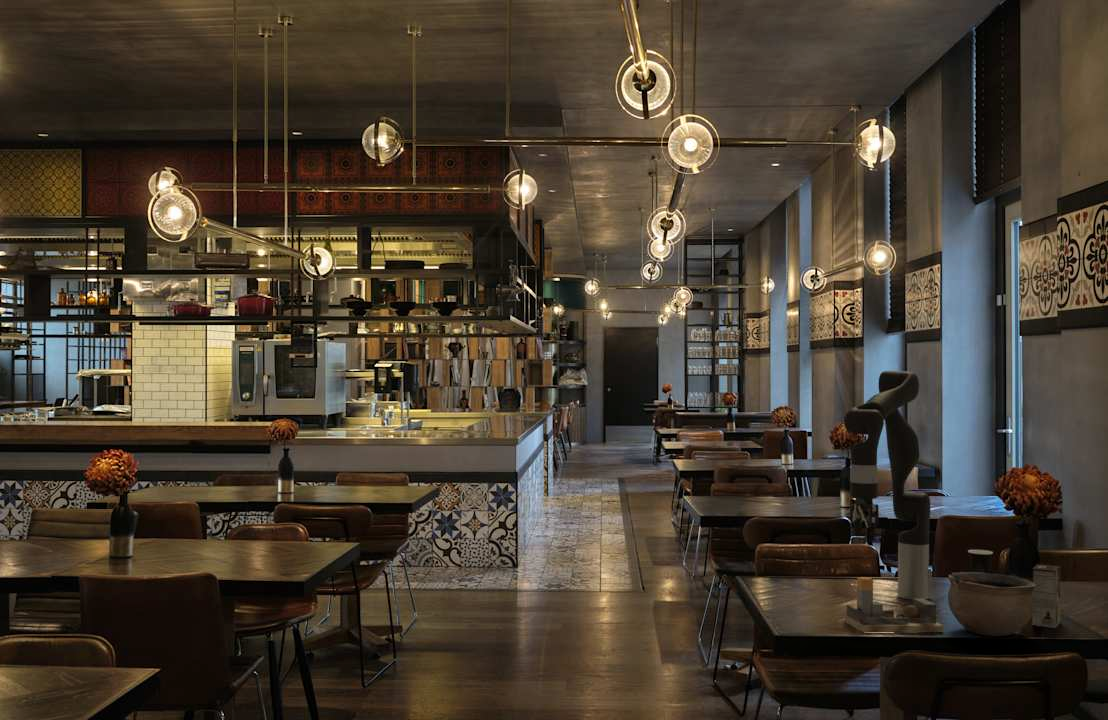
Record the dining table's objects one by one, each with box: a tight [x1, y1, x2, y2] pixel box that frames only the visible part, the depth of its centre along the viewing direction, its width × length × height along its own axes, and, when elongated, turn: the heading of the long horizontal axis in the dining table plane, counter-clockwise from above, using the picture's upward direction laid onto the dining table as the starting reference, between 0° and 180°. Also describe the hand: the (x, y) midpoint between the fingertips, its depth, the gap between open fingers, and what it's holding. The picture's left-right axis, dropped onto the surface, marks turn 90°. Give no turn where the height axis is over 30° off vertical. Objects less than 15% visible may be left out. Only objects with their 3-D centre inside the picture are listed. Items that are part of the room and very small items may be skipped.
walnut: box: [902, 604, 918, 618], centre depth 286 cm, size 4×4×4 cm
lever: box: [856, 576, 884, 618], centre depth 285 cm, size 6×7×11 cm
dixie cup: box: [967, 549, 994, 574], centre depth 352 cm, size 8×8×11 cm
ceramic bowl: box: [947, 571, 1036, 637], centre depth 280 cm, size 22×22×15 cm
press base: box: [844, 598, 944, 634], centre depth 286 cm, size 22×14×7 cm, turn 96°
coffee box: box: [1031, 563, 1061, 629], centre depth 292 cm, size 9×6×16 cm
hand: (864, 538), depth 289 cm, fingers open, 8 cm apart
